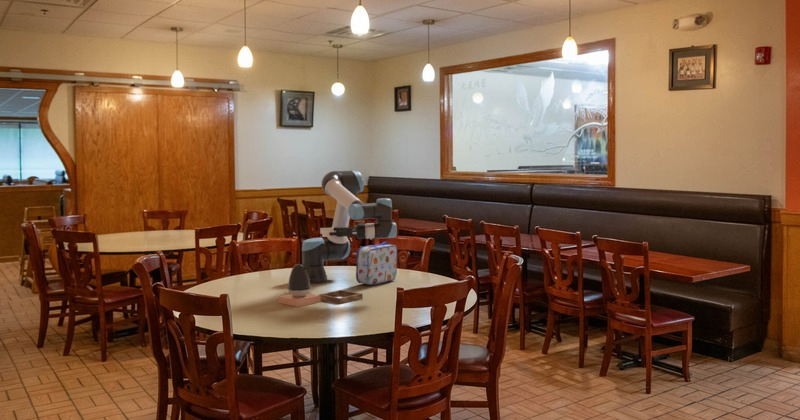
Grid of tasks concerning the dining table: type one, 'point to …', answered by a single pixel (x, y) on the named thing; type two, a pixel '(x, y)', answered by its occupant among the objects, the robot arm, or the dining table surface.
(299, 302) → the stand
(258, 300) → the dining table surface
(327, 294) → the brown wooden trivet
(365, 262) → the lunch box
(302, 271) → the pump dispenser
